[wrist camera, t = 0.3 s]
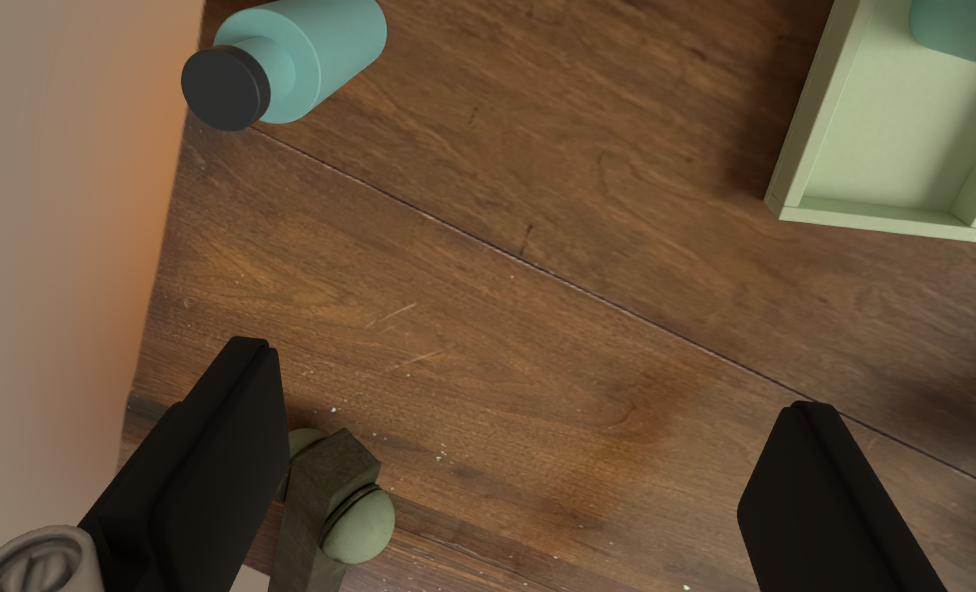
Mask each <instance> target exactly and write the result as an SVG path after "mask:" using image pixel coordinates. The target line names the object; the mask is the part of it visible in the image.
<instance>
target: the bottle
mask: <svg viewBox="0 0 976 592" xmlns="http://www.w3.org/2000/svg"><path fill="white" fill-rule="evenodd" d="M386 37H387V26H386V21H385V17H384V14H383V12H382V10H381V8H380V6H379V5H378V3H377V2H376V1H375V0H279V1H275V2H271V3H267V4H264V5H260V6H256V7H252V8H248V9H245V10H241V11H239V12H237V13H234V14H233V15H231V16H230V17H228V18H227V19H226V20H225V21H224V22H223V24H222V25H221V26H220V28H219V30H218V32H217V34H216V37H215V40H214V45H213V46H212V47H209V48H207V49H204V50H201V51H199V52H196V53H195V54H193V55H192V56H191V57H190V58H189V59H188V60H187V62H186V63H185V65H184V68H183V71H182V77H181V85H182V91H183V94H184V97H185V100H186V102H187V104H188V105H189V107H190V108H191V110H192V111H193V112H194V114H195V115H196V116H197V117H198V118H199V119H201V120H202V121H203V122H205V123H206V124H208V125H209V126H211V127H213V128H216V129H219V130H223V131H239V130H242V129H245V128H246V127H248V126H250V125H251V124H253V123H254V122H256V121H257V120H261V121H264V122H268V123H277V124H280V123H288V122H292V121H295V120H297V119H299V118H301V117H302V116H304V115H305V114H306V113H308V112H309V111H310V110H312V109H313V108H314V107H315V106H317V105H318V104H319V103H321V102H322V101H323V100H324V99H326V98H327V97H328V96H330V95H331V94H332V93H333V92H335V91H336V90H337V89H339V88H340V87H341V86H343V85H344V84H345V83H346V82H348V81H349V80H350V79H352V78H353V77H354V76H355V75H357V74H358V73H359V72H361V71H362V70H363V69H364V68H366V67H367V66H368V65H370V64H371V63H372V62H373V61H375V60H376V59H377V58H378V57H379V55H380V54H381V52H382V50H383V48H384V46H385V43H386Z"/></svg>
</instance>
